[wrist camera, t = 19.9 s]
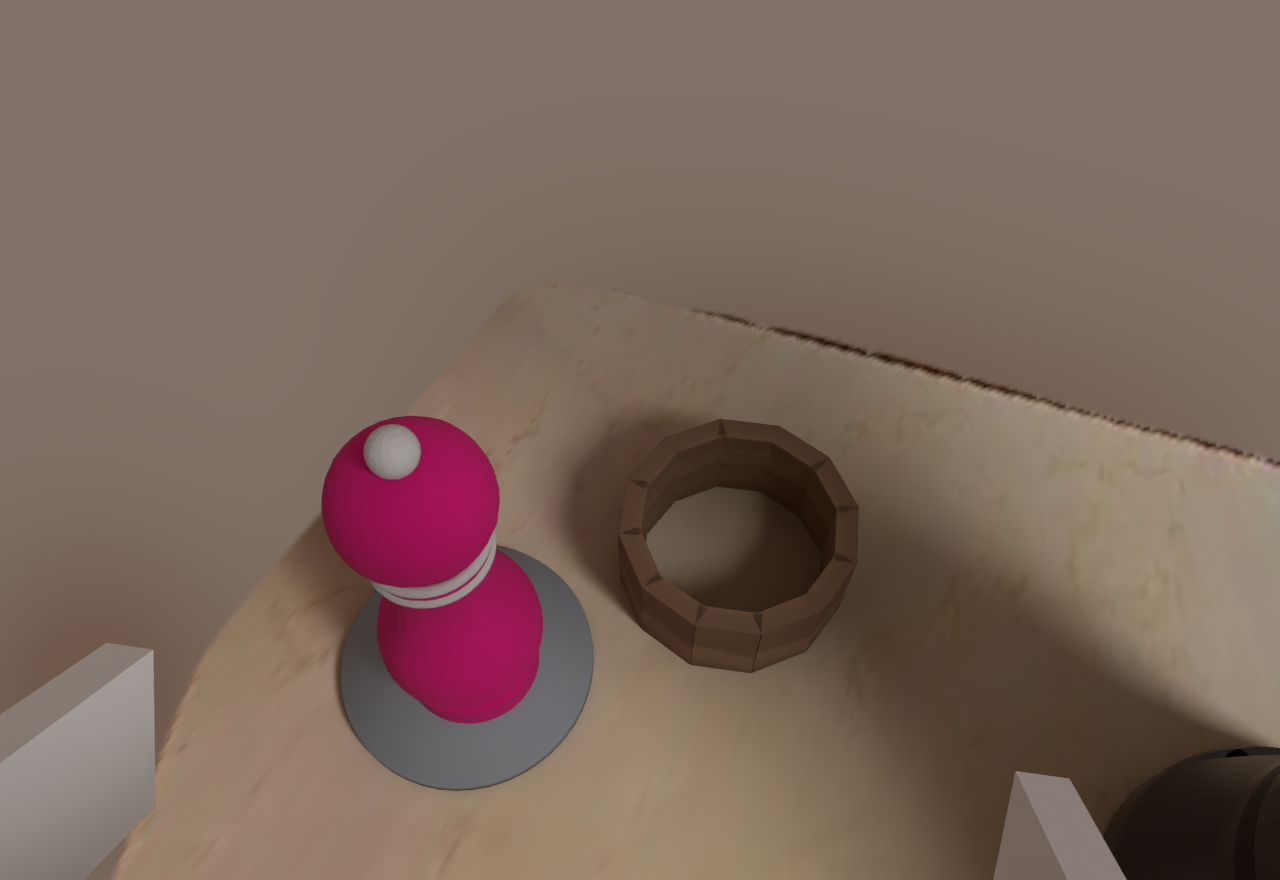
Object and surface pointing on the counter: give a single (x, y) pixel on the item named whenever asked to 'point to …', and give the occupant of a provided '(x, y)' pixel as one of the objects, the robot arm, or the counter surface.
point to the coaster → (481, 749)
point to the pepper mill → (435, 566)
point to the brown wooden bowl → (747, 464)
